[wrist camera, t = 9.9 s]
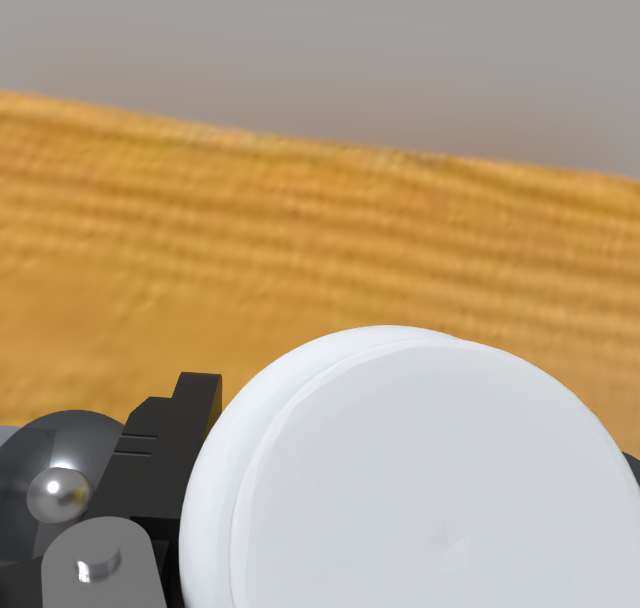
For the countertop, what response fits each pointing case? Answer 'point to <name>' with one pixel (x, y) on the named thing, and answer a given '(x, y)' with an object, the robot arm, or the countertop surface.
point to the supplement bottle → (408, 485)
